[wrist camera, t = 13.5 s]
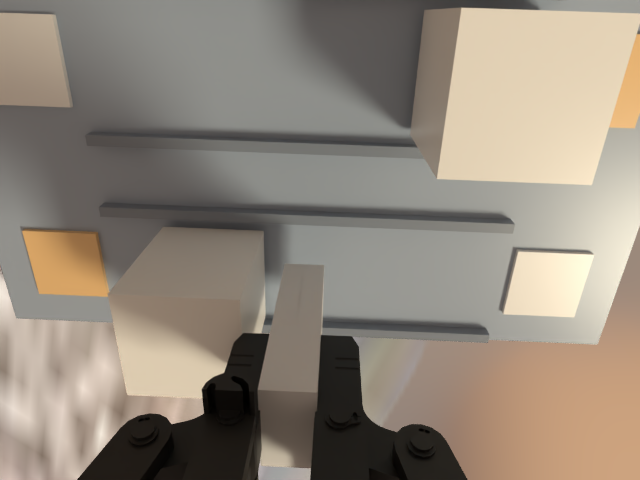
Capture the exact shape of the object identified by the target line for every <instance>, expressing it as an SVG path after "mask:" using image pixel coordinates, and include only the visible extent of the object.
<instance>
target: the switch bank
mask: <svg viewBox="0 0 640 480" xmlns="http://www.w3.org/2000/svg"><path fill="white" fill-rule="evenodd" d="M447 8H488V9H518V10H548V11H579V12H609V13H639V14H640V0H0V266H1V269H2V272H3V276H4V279H5V282H6V286H7V289H8V292H9V295H10V299H11V302H12V305H13V309H14V312H15V315H16V318H22V319H44V320H66V321H88V322H110V323H113V320H112V315H111V310H110V305H109V300H108V293H109V292H110V290H111V289H112V288H113V287H114V286H115V284H116V283H117V282H118V281H119V280H120V278H121V277H122V276H123V275H124V274H125V272H126V271H127V270H128V269H129V267H130V266H131V265H132V264H133V263H134V261H135V260H136V259H137V258H138V257H139V255H140V254H141V253H142V252H143V250H144V249H145V248H146V247H147V246H148V244H149V243H150V242H151V241H152V240H153V238H154V237H155V236H156V235H157V233H158V232H159V231H160V230H161V229H162V227H186V228H210V229H234V230H258V231H264V266H265V307H266V316H265V320H264V324H263V328H262V332H261V333H270V330H271V325H272V320H273V316H274V311H275V306H276V302H277V297H278V292H279V288H280V283H281V278H282V274H283V269H284V264H311V265H324V290H323V321H322V335H334V336H352V337H371V338H393V339H415V340H438V341H459V342H482V343H488V340H510V341H533V342H556V343H578V344H598V341H599V339H600V335H601V332H602V330H603V327H604V325H605V322H606V319H607V316H608V313H609V311H610V308H611V304H612V302H613V299H614V296H615V294H616V291H617V288H618V285H619V282H620V280H621V277H622V274H623V271H624V268H625V265H626V263H627V260H628V257H629V254H630V252H631V249H632V246H633V243H634V240H635V238H636V234H637V232H638V229H639V226H640V25H639V28H638V31H637V35H636V38H635V41H634V45H633V48H632V52H631V55H630V58H629V62H628V65H627V68H626V72H625V75H624V79H623V82H622V85H621V89H620V92H619V95H618V99H617V102H616V106H615V109H614V112H613V116H612V119H611V122H610V126H609V129H608V133H607V136H606V139H605V143H604V146H603V150H602V153H601V156H600V160H599V163H598V166H597V170H596V173H595V177H594V180H593V183H592V185H574V184H549V183H523V182H498V181H472V180H447V179H437V178H436V177H435V175H434V174H433V172H432V170H431V169H430V167H429V165H428V164H427V162H426V160H425V159H424V157H423V155H422V154H421V152H420V150H419V149H418V147H417V145H416V144H415V142H414V141H413V139H412V137H411V136H410V131H411V122H412V113H413V104H414V96H415V87H416V78H417V69H418V60H419V52H420V43H421V34H422V25H423V16H424V10H431V9H447Z"/></svg>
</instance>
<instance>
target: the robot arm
mask: <svg viewBox="0 0 640 480" xmlns="http://www.w3.org/2000/svg"><path fill="white" fill-rule="evenodd" d="M323 290H324V265H311V264H284V269H283V274H282V278H281V283H280V288H279V292H278V297H277V302H276V306H275V311H274V316H273V320H272V325H271V330H270V334H259V333H243V334H242V335H241V336H240V337H239V338H238V339H237V340H236V341H235V342H234V343H233V346H232V350H231V353H230V356H229V359H228V362H227V366H226V368H225V372H224V373H222V374H220V375H217V376H214V377H213V378H211V379H210V380H209V381H207V382H206V383H205V385H204V386H203V388H202V398H203V406H204V414H203V415H201V416H199V417H197V418H195V419H192V420H189V421H185V422H180V423H176V424H171V423H170V422H169V420H168V419H167V418H166V417H164V416H162V415H160V414H145V415H140V416H137V417H135V418H133V419H131V420H129V421H128V422H127V423H126V424H125V425H123V426H122V427H121V428H120V429H119V430H118V432H117V433H116V434H115V435H114V436H113V438H112V439H111V440H110V441H109V442H108V444H107V445H106V446H105V447H104V448H103V450H102V451H101V452H100V453H99V454H98V456H97V457H96V458H95V459H94V460H93V461H92V463H91V464H90V465H89V466H88V467H87V469H86V470H85V471H84V472H83V473H82V475H81V476H80V477H79V478H78V479H77V480H258V468H259V463H260V457H261V466H275V467H297V468H311V478H310V480H467V478H466V476H465V474H464V473H463V471H462V469H461V467H460V466H459V463H458V461H457V460H456V458H455V456H454V454H453V452H452V450H451V449H450V447H449V445H448V443H447V442H446V440H445V439H444V438H443V436H442V435H441V434H440V433H439V432H437V431H436V430H434V429H433V428H430V427H428V426H425V425H421V424H420V425H418V424H411V425H408V426H405V427H402V428H401V429H400V430H399V431H398V432H394V431H391V430H388V429H385V428H383V427H380V426H378V425H377V424H375V423H374V422H372V421H371V420H370V419H369V418H368V417H367V415H366V414H365V412H364V410H363V405H362V392H361V376H360V361H359V346H358V345H357V343H356V342H355V341H354V339H353V338H352V336H334V335H322V321H323Z"/></svg>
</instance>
